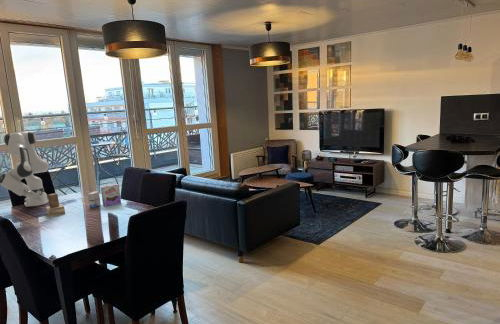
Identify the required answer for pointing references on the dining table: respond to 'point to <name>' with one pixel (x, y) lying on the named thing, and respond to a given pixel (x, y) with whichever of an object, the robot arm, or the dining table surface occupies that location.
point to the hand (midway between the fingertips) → (38, 199)
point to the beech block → (55, 210)
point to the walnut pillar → (53, 200)
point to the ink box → (94, 199)
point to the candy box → (110, 195)
